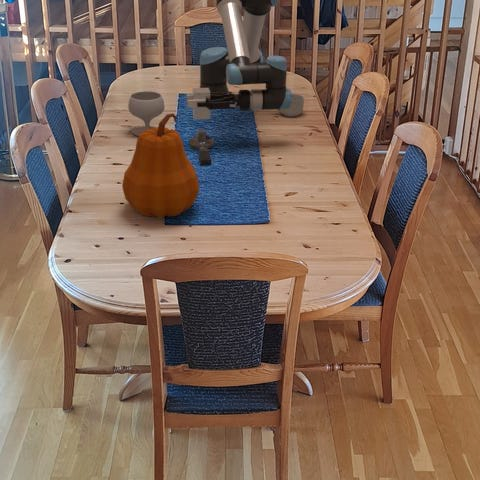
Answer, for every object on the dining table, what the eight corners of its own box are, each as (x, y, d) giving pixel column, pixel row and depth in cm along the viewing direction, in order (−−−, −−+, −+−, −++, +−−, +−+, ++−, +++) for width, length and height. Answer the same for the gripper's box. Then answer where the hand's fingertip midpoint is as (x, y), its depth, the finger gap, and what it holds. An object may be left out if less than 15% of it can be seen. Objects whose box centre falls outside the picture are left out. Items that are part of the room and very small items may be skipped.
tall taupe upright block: (192, 114, 283) (192, 88, 278) (208, 113, 283) (208, 87, 279) (194, 119, 277) (193, 92, 273) (210, 119, 278) (210, 92, 274)
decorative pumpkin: (161, 187, 251) (158, 99, 237) (215, 207, 238) (215, 115, 224) (107, 210, 235) (101, 117, 221) (162, 233, 221) (158, 136, 207)
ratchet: (189, 142, 289) (189, 127, 287) (212, 141, 290) (212, 126, 288) (193, 165, 268) (193, 149, 265) (218, 164, 269) (218, 149, 266)
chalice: (122, 134, 295) (120, 97, 288) (142, 124, 306) (141, 88, 299) (152, 141, 290) (151, 103, 283) (172, 130, 301) (171, 93, 294)
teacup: (303, 111, 325) (304, 93, 321) (303, 119, 316) (304, 100, 312) (271, 109, 326) (272, 91, 323) (269, 117, 317) (270, 99, 313)
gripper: (252, 117, 273) (189, 119, 270) (246, 102, 290) (185, 103, 287) (253, 97, 270) (188, 98, 267) (246, 82, 286) (185, 84, 284)
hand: (187, 101), depth 277 cm, fingers closed on tall taupe upright block, 6 cm apart
